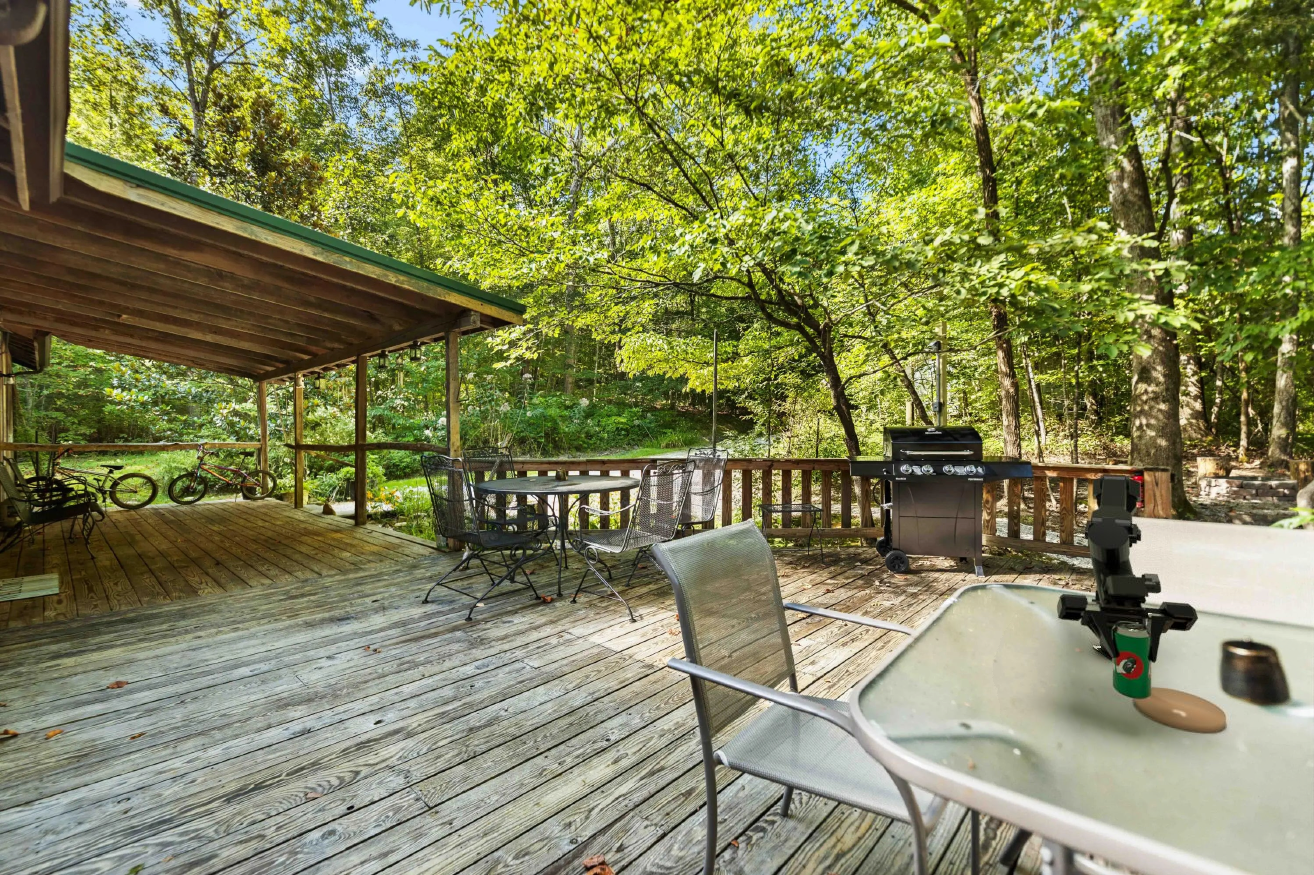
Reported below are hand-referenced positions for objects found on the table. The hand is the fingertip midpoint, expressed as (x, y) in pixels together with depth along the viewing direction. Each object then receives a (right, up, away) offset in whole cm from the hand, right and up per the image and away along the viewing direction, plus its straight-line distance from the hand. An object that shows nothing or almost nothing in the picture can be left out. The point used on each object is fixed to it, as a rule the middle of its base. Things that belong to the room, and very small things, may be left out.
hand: (1134, 659), depth 93 cm
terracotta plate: (+13, -12, +6) cm, 19 cm away
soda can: (+1, -7, +2) cm, 7 cm away
